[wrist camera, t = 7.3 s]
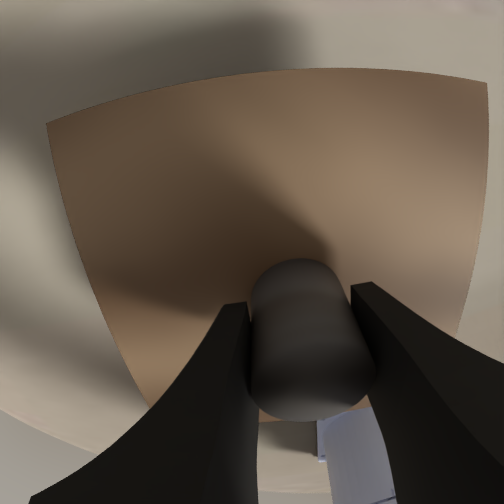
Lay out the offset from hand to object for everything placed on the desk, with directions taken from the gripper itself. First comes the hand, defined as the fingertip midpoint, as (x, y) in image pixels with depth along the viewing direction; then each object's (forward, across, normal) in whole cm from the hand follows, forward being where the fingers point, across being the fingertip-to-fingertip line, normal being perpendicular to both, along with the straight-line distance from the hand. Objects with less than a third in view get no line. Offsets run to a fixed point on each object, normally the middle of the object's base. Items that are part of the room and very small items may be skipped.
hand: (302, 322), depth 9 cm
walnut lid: (+2, 0, 0) cm, 2 cm away
